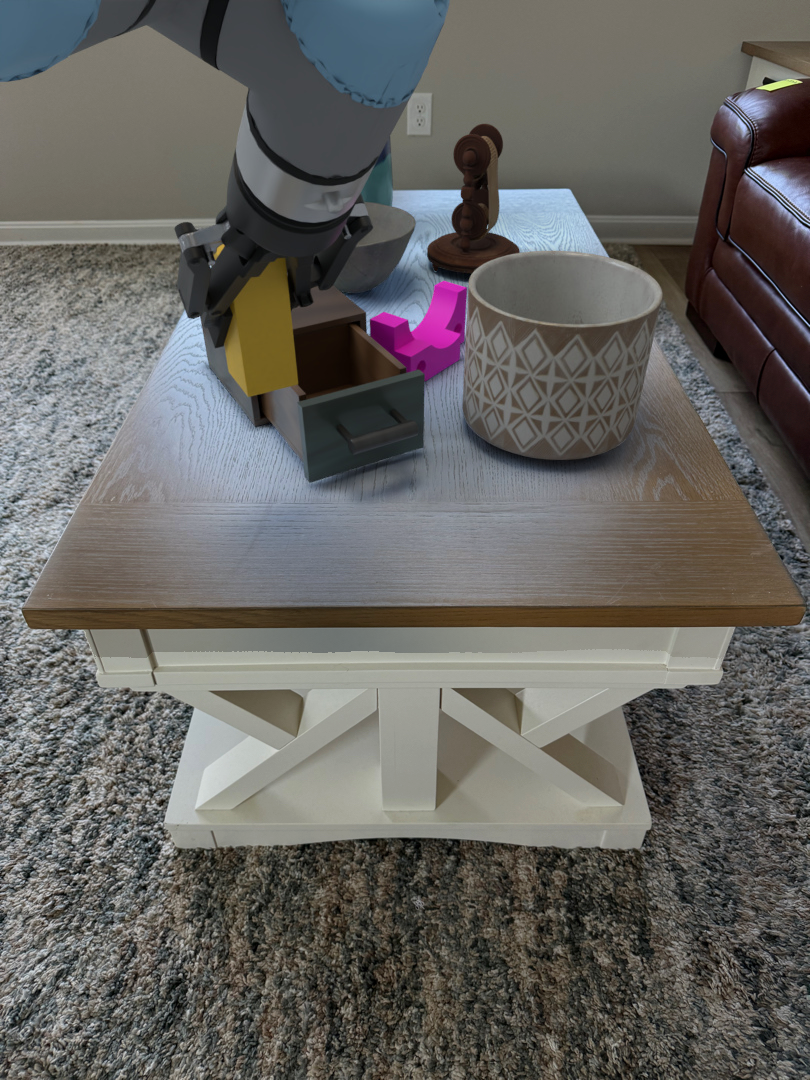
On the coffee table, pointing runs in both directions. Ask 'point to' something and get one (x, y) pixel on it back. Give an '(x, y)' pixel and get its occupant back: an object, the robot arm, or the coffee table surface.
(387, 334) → the toy block
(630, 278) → the planter
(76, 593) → the coffee table surface
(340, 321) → the cabinet
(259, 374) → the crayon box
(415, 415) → the drawer
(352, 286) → the bowl
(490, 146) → the brown rounded piece
